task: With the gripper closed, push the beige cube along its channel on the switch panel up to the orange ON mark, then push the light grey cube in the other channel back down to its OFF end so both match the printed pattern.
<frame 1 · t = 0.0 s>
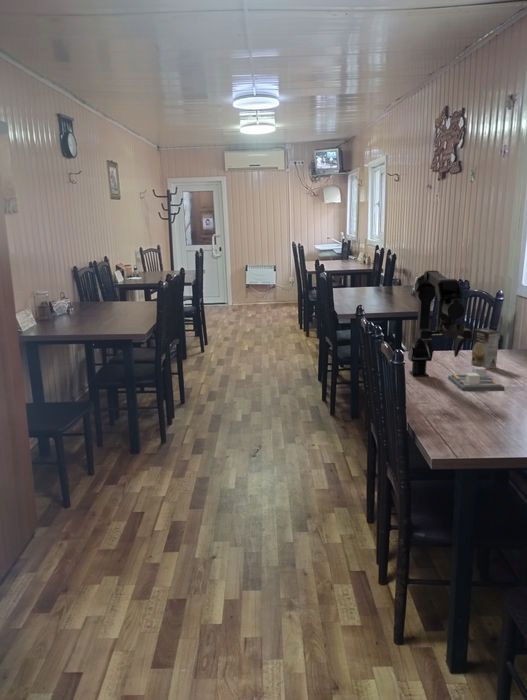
hand: (442, 356, 205), 15 cm above the table, fingers open, 9 cm apart
coffee box: (483, 366, 248), on the table
light grey cube: (479, 372, 225), point 3 cm above the table, slide at 6.0 cm
beige cube: (472, 379, 216), point 3 cm above the table, slide at 0.0 cm
switch panel: (475, 384, 221), on the table
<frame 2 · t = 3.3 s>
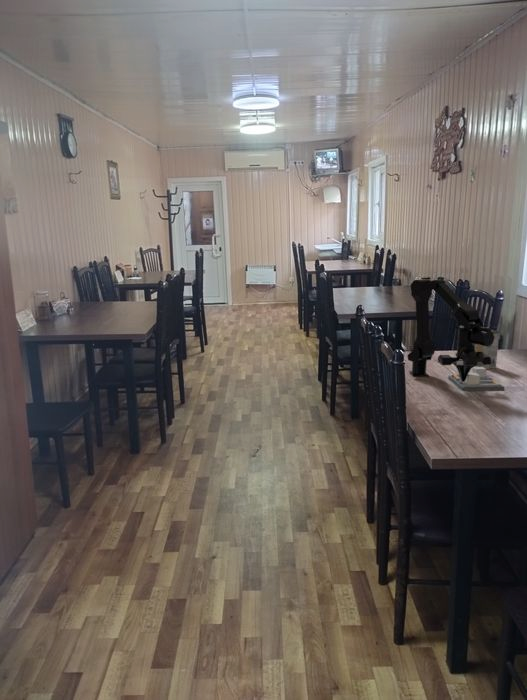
hand: (462, 381, 216), 3 cm above the table, fingers closed
beige cube: (472, 379, 216), point 3 cm above the table, slide at 0.0 cm, touching gripper
everything else where it was.
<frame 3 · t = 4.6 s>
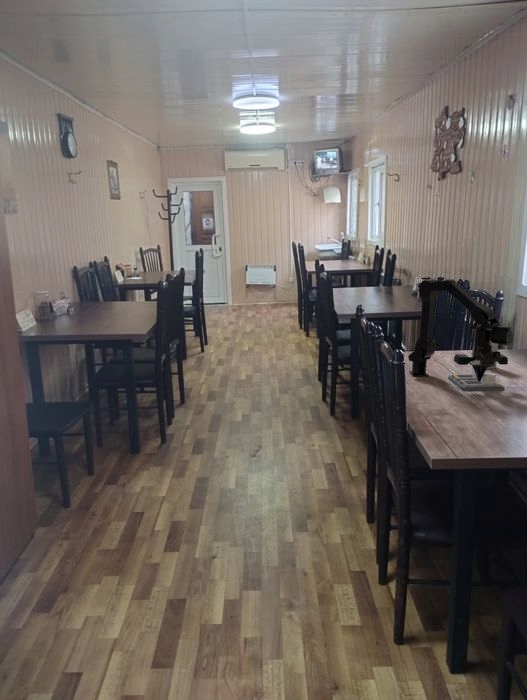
hand: (478, 381, 216), 3 cm above the table, fingers closed
beige cube: (488, 379, 216), point 3 cm above the table, slide at 6.1 cm, touching gripper
everything else where it was.
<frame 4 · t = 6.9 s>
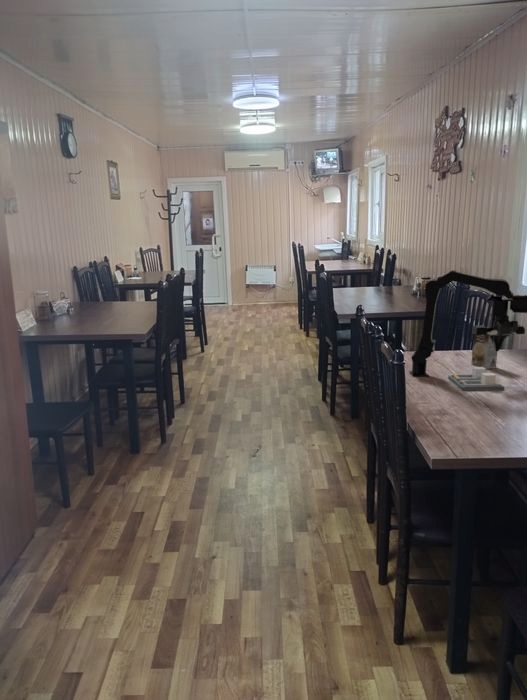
hand: (496, 351, 222), 12 cm above the table, fingers closed
beige cube: (488, 379, 216), point 3 cm above the table, slide at 6.1 cm
everything else where it was.
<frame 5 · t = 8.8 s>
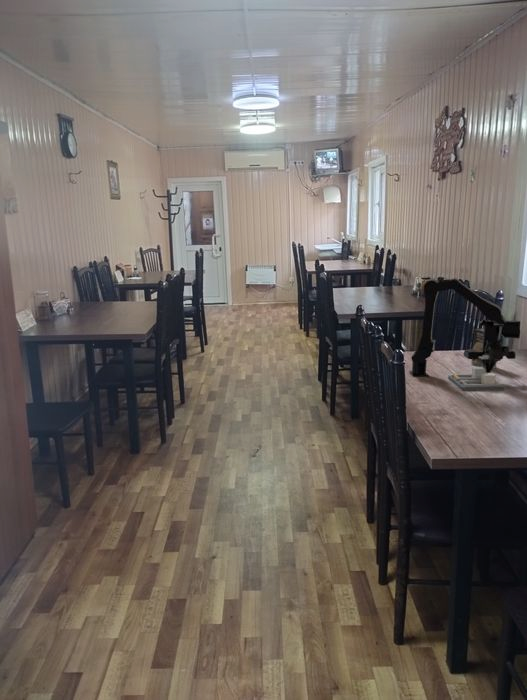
hand: (487, 374, 225), 2 cm above the table, fingers closed
light grey cube: (478, 372, 225), point 3 cm above the table, slide at 5.8 cm, touching gripper
everything else where it was.
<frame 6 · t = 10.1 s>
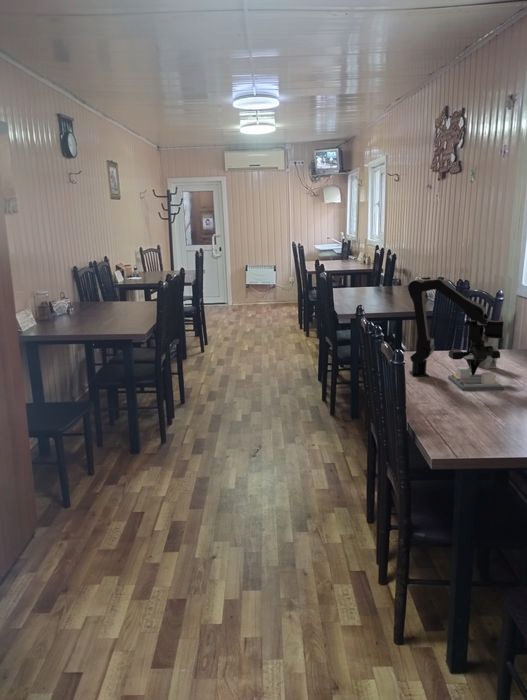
hand: (472, 374, 225), 3 cm above the table, fingers closed
light grey cube: (463, 373, 225), point 3 cm above the table, slide at -0.1 cm, touching gripper
everything else where it was.
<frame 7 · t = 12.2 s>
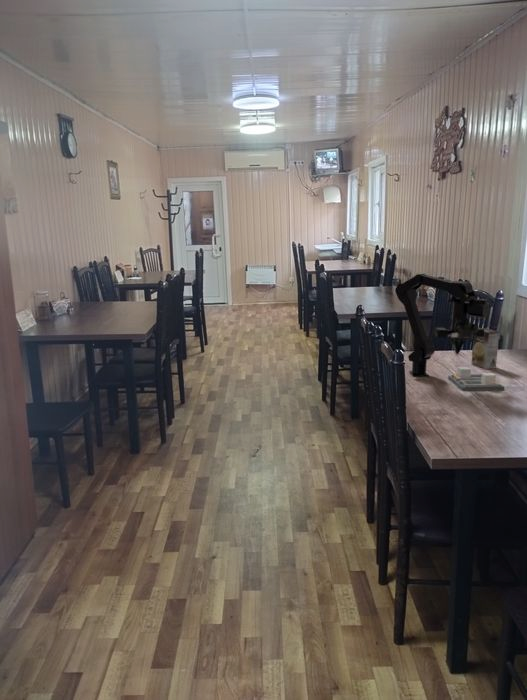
hand: (456, 353, 221), 12 cm above the table, fingers closed
light grey cube: (463, 373, 225), point 3 cm above the table, slide at -0.1 cm
everything else where it was.
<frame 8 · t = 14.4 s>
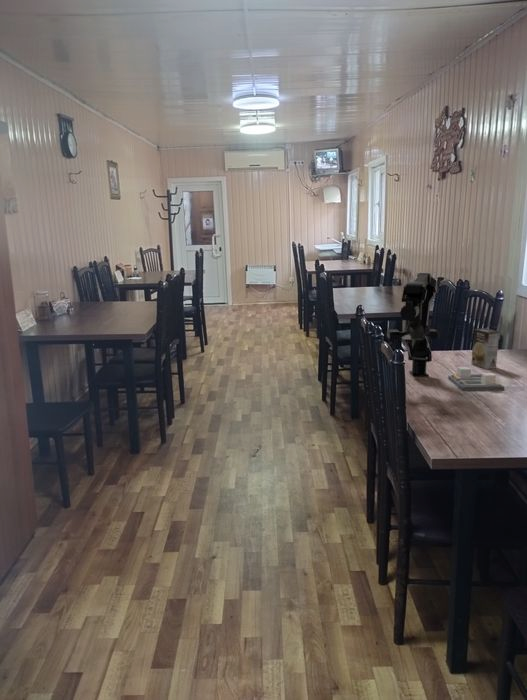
hand: (411, 356, 217), 12 cm above the table, fingers closed
nothing on the table moved.
at the end: beige cube slide at 6.1 cm; light grey cube slide at -0.1 cm; beige cube touching nothing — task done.
